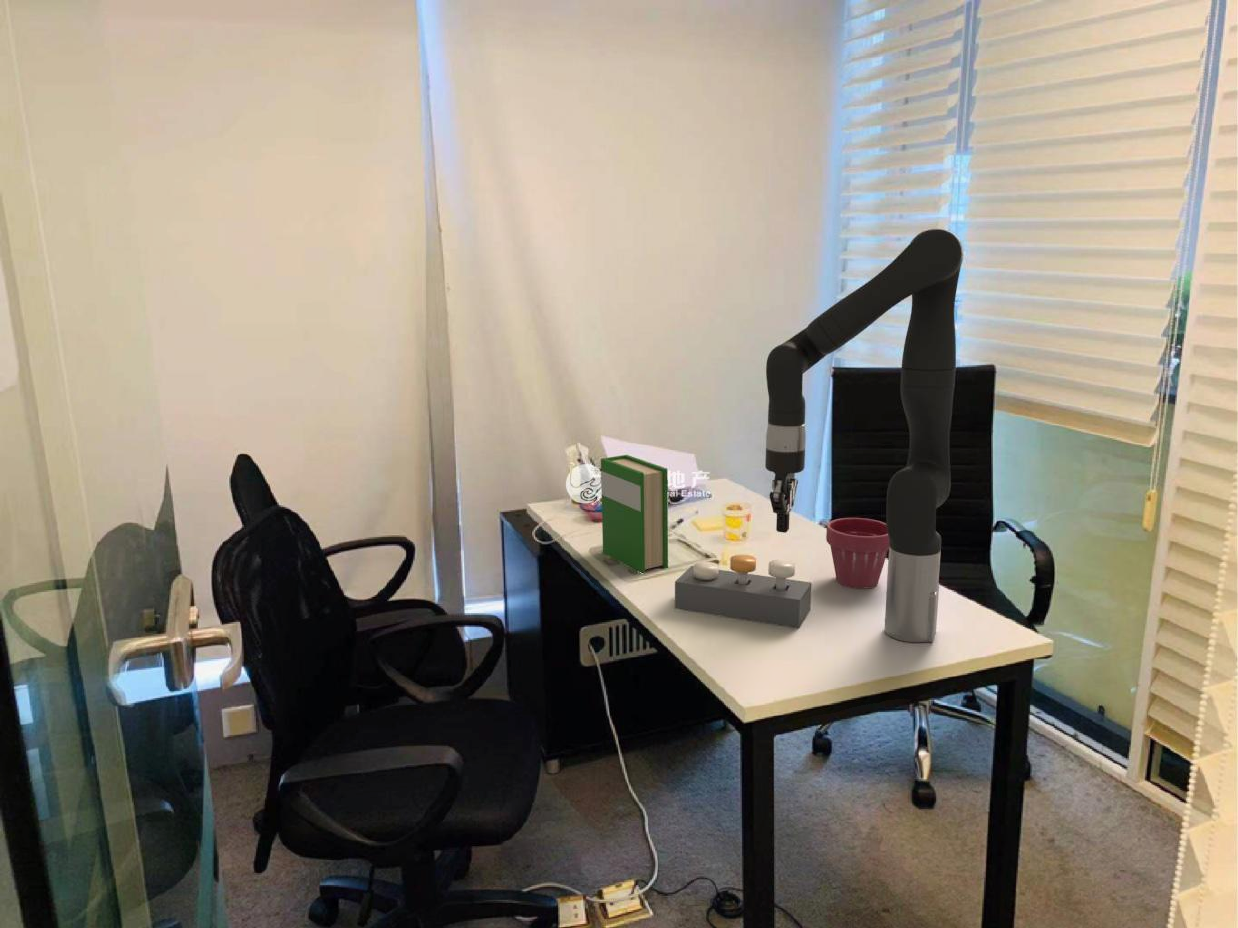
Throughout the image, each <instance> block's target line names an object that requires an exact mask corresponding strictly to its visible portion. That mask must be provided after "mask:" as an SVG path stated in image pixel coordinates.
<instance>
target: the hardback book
mask: <svg viewBox="0 0 1238 928" xmlns="http://www.w3.org/2000/svg"><path fill="white" fill-rule="evenodd" d="M600 482H601V485H600V486H601V523H602V525H601V528H602V532H601V533H602V554H604V555H605V556H608V557H609V556H610V557H609V558H611V557H612V560H613V559H614V560H615V561H616V562H619V561H620V562H622V563H623V564H622V563H621V564H622V565H624V564H625V565H624V566H626V565H627V566H626V567H628V566H629V567H628V568H630V567H631V568H632V570H633V569H634V570H633V571H635V570H636V571H635V572H637V571H639V572H641V573H644V572H645V573H646V570H647V569H651V568H655V567H661V566H662V567H661V568H662V569H668V568H669V531H668V530H669V526H668V525H669V515H668V514H669V510H668V509H669V508H668V507H669V506H668V503H669V502H668V501H669V500H668V499H669V497H668V496H669V495H668V485H669V484H668V482H669V481H668V468H667V467H664V466H662V465H661V466H660V465H657V464H655V463H652V462H650V461H647V460H643V459H640V458H637V457H635V456H632V455H629V454H624V455H623V454H622V455H617V456H611V457H604V458H600ZM620 562H619V563H620ZM631 568H630V569H631ZM639 572H638V573H639ZM641 573H640V574H641ZM645 573H644V574H645Z"/></svg>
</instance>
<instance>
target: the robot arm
mask: <svg viewBox="0 0 1238 928" xmlns="http://www.w3.org/2000/svg"><path fill="white" fill-rule="evenodd" d="M963 261H964V246H963V244H962V241H961V239H960V238H959V237H958V236H957V235H956V234H955V233H954V232H952V231H950V230H948V229H945V228H942V227H933V228H927V229H926V230H922V231H921V232H919V233H918V234H917V235H915V237H913V238H912V240H911V241H910V243H909V244H908V245H907V246H906V247H905V248H904V250H903V251H901V253H900V254H899V255H897V256H896V258H895V259H893V261H891V262H890V264H888V265H887V266H886V267H885V268H884V269H883V270H881V271H880V272H879V273H877V274H876V275H875V276H874V277H872V278H871V279H870V280H869V281H867V282H866V283H864V284H863V285H861V286H859V287H858V288H857V289H856V290H854V291H852V292H850V293H849V294H848V295H846V296H845V297H843V298H842V299H840V300H839V301H837V302H836V303H834V304H833V305H831V306H830V307H829V308H828V309H826V310H825V311H823V312H822V313H821V314H820V315H817V316H816V317H815V318H814V319H813V320H812V321H811V322H810V323H808V325H807V327H805V328H804V329H802V330H801V331H799V332H797V333H796V334H795V335H793V336H792V337H791V338H789V339H788V340H786V341H785V342H782V343H781V344H779V345H777V346H776V347H774V348H773V349H772V350H770V352H769V354H768V356H767V360H766V367H765V376H766V386H767V394H768V406H767V408H768V409H767V410H768V411H767V428H766V435H765V437H766V438H765V465H764V466H765V469H766V470H767V471H769V472H772V473H774V479H772V481H771V488H772V491H770V492H769V501H770V505H771V508H772V513H774V514H776V526H775V527H776V528H775V530H776V532H778V533H784V534H786V533H787V532H789V529H790V516H791V515H790V513H791V511H792V508H793V507H794V506H795V498H796V493H797V489H798V484H799V480H798V479H797V478H796V475H795V474H798V473H799V474H800V473H801V472H803V471H804V470H805V465H806V464H805V462H806V439H807V438H806V437H807V435H806V434H807V433H806V400H805V396H804V395H803V379H804V378H803V376H804V375H803V374H805V373H806V372H807V371H809V370H811V368H812V367H814V366H815V365H816V364H818V363H819V362H820V361H821V360H823V359H824V358H825V357H826V356H828V355H830V354H831V353H833V352H836V351H837V350H838V349H840V348H842V347H843V346H844V345H845V344H847V343H849V342H850V341H852V340H853V339H854V338H855V337H856V336H858V335H859V334H861V333H862V332H863V331H865V330H866V329H867V328H868V327H870V326H871V325H872V324H873V323H875V322H876V321H877V320H878V319H880V318H881V317H882V316H883V315H884V314H885V313H887V312H888V311H890V310H891V309H892V308H894V307H895V306H896V305H898V304H899V303H900V302H903V301H904V300H906V299H907V298H909V297H911V313H910V317H909V322H908V324H907V325H908V327H907V331H906V335H905V338H904V339H905V340H904V345H903V351H902V356H901V357H902V360H901V368H900V369H901V371H900V372H901V373H900V398H901V403H902V406H903V411H904V414H905V417H906V421H907V425H908V430H909V448H908V458H907V463H906V467H904V468H902V469H900V470H898V471H897V472H895V474H893V475H892V477H891V478H890V480H889V483H888V486H887V491H886V492H887V493H886V516H885V517H886V519H885V520H886V528H887V533H888V536H889V549H888V561H887V562H888V563H887V576H886V577H887V581H886V592H885V593H886V596H885V597H886V598H885V611H884V612H885V615H884V633H885V634H886V635H888V636H889V637H891V638H892V639H895V640H898V641H901V642H906V643H924V642H928V643H933V642H934V640H935V636H936V632H937V623H938V612H939V611H938V607H939V597H940V596H939V592H940V584H939V580H940V579H939V577H940V567H941V566H940V565H941V553H942V552H941V550H942V537H941V534H939V532H937V531H936V530H937V529H936V527H937V526H936V525H937V524H936V523H937V508H939V507H941V506H942V505H943V504H944V503H945V502H946V501H947V499H948V497H949V496H950V492H951V485H952V483H951V482H952V479H951V478H952V477H951V459H950V456H951V455H950V435H951V433H950V432H951V426H952V417H953V416H952V415H953V400H954V393H955V382H956V368H957V367H956V366H957V346H956V345H957V343H956V342H957V339H956V337H957V336H956V323H955V321H956V320H955V305H956V297H957V296H956V295H957V291H958V290H957V289H958V283H959V277H960V273H961V268H962V264H963Z"/></svg>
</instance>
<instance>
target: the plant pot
mask: <svg viewBox="0 0 1238 928" xmlns="http://www.w3.org/2000/svg"><path fill="white" fill-rule="evenodd" d="M825 541H826V543H827V544H828V545H829V546H830V551H831V557H832V563H833V568H834V569H833V570H834V573H835V579H836V581H837V582H838V583H839V584H840V585H843V586H845V587H848V588H854V589H871V588H874V587H876V586H877V585H878V583H879V582H880V581H879V580H880V577H881V574H882V571H883V568H884V565H885V561H886V557H887V554H888V552H889V536H888V533H887V528H886V523H885V522H883V521H880V520H875V519H871V518H865V517H864V518H861V517H843V518H837V519H834V520H831V521H829V522H828V523H827V524H826V536H825Z"/></svg>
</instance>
